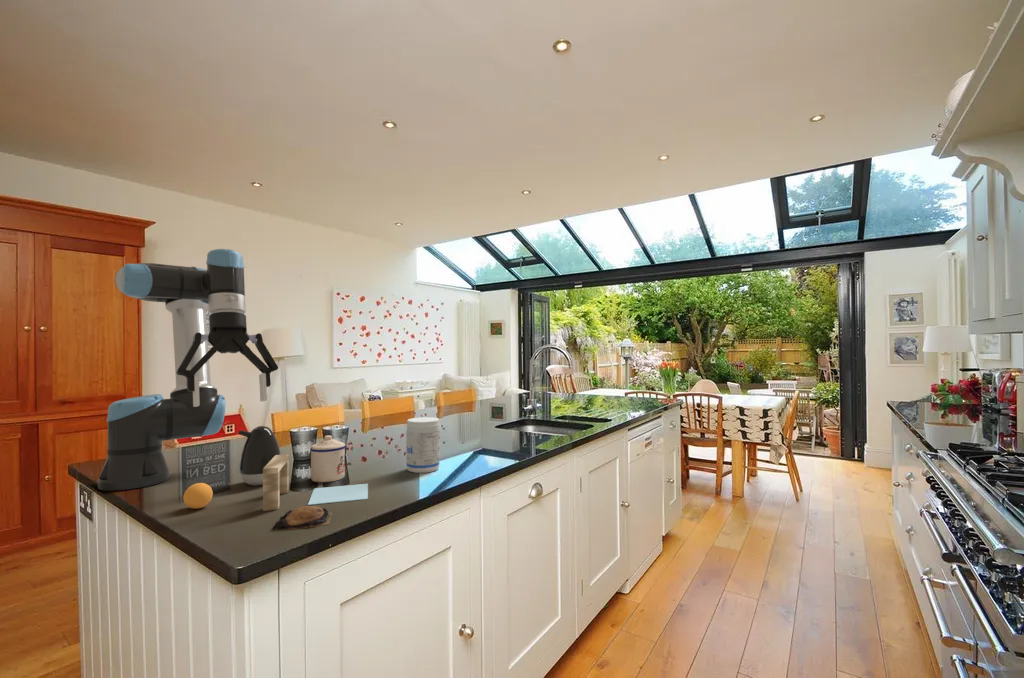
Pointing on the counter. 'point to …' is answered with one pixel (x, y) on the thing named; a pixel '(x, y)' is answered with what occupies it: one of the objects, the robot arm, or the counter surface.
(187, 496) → the ball
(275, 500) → the bridge
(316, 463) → the teacup with lid
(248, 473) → the pump dispenser
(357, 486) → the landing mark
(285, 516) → the mussel
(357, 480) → the counter surface
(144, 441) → the robot arm
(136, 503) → the counter surface
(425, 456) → the supplement tub
